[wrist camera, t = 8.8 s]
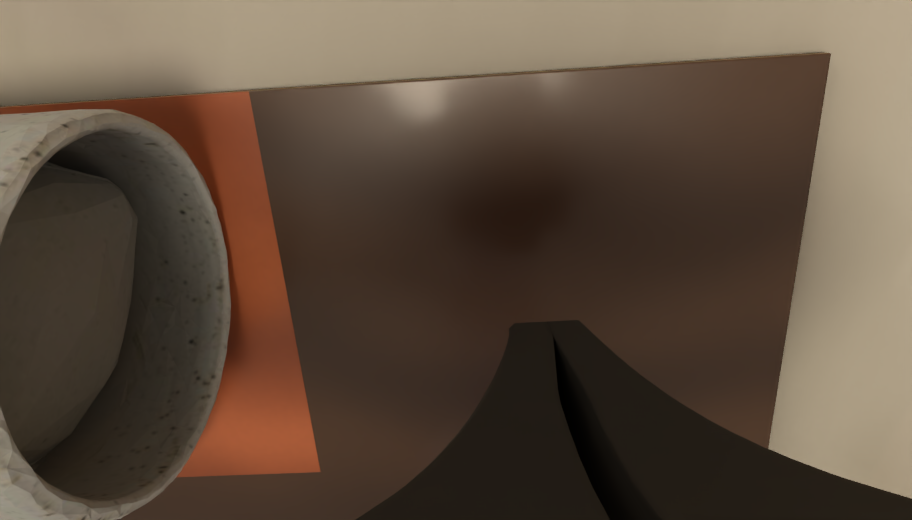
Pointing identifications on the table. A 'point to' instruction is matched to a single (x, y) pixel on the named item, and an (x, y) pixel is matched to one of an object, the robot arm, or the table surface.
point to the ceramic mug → (103, 313)
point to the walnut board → (481, 256)
